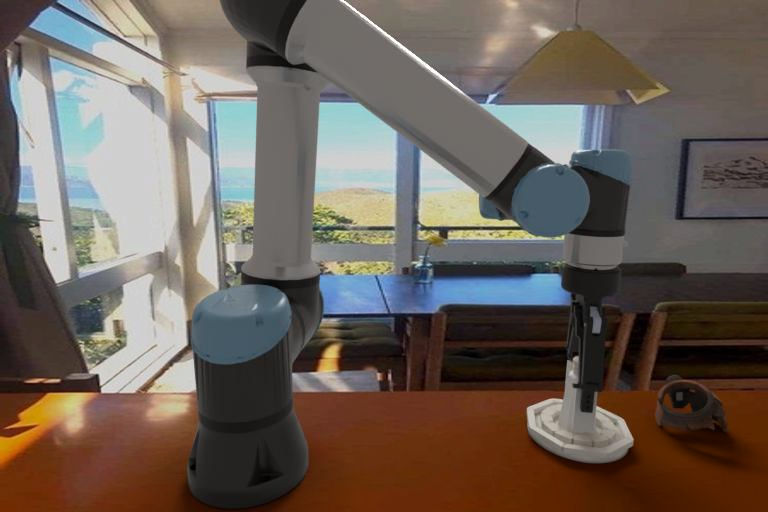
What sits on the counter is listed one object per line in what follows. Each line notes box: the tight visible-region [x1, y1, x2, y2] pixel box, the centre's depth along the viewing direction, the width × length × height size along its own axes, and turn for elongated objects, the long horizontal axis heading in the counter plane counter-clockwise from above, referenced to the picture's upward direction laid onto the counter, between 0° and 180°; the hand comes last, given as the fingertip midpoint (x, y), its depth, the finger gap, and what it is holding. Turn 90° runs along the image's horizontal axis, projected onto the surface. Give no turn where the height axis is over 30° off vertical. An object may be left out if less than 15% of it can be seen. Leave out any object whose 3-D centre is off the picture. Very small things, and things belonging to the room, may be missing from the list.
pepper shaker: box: [558, 356, 596, 435], centre depth 69 cm, size 5×5×11 cm
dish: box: [526, 398, 635, 464], centre depth 70 cm, size 14×14×2 cm
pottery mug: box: [654, 374, 729, 433], centre depth 73 cm, size 12×10×8 cm
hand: (577, 414), depth 70 cm, fingers open, 8 cm apart
